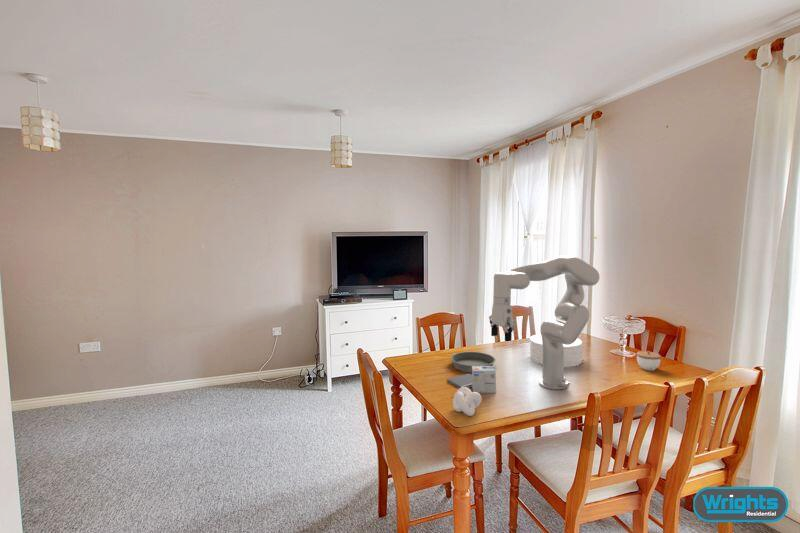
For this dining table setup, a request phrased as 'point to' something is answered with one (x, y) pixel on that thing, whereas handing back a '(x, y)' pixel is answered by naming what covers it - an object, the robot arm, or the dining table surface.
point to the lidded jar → (648, 360)
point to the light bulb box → (484, 379)
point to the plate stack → (570, 351)
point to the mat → (461, 381)
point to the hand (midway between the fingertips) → (501, 338)
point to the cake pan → (471, 360)
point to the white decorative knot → (466, 401)
